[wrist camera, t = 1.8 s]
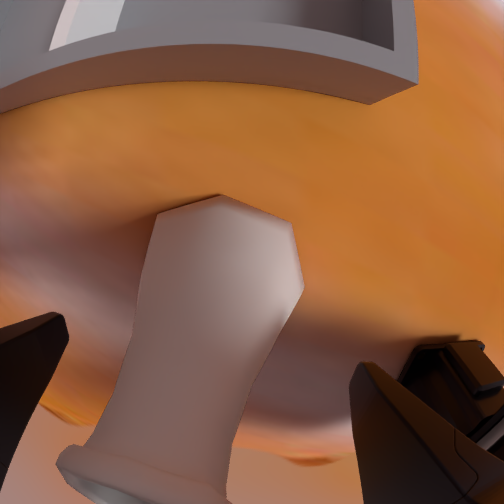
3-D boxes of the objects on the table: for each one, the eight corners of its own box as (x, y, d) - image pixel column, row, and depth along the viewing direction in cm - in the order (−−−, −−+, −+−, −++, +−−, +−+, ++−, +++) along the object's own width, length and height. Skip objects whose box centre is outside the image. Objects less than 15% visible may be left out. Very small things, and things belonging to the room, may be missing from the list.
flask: (292, 349, 13) (308, 550, 4) (151, 333, 13) (63, 500, 4) (315, 201, 11) (493, 401, 1) (141, 190, 11) (-83, 296, 1)
